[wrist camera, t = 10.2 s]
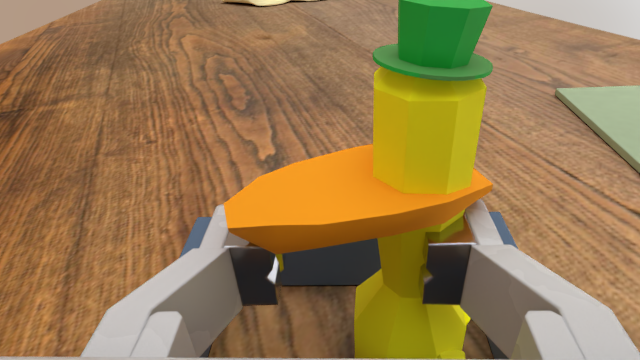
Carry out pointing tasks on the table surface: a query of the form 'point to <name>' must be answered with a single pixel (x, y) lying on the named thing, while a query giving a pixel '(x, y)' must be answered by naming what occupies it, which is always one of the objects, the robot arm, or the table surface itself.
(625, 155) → the felt mat
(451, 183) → the toy figure
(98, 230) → the table surface
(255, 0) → the cloth
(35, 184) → the table surface
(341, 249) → the open square frame
